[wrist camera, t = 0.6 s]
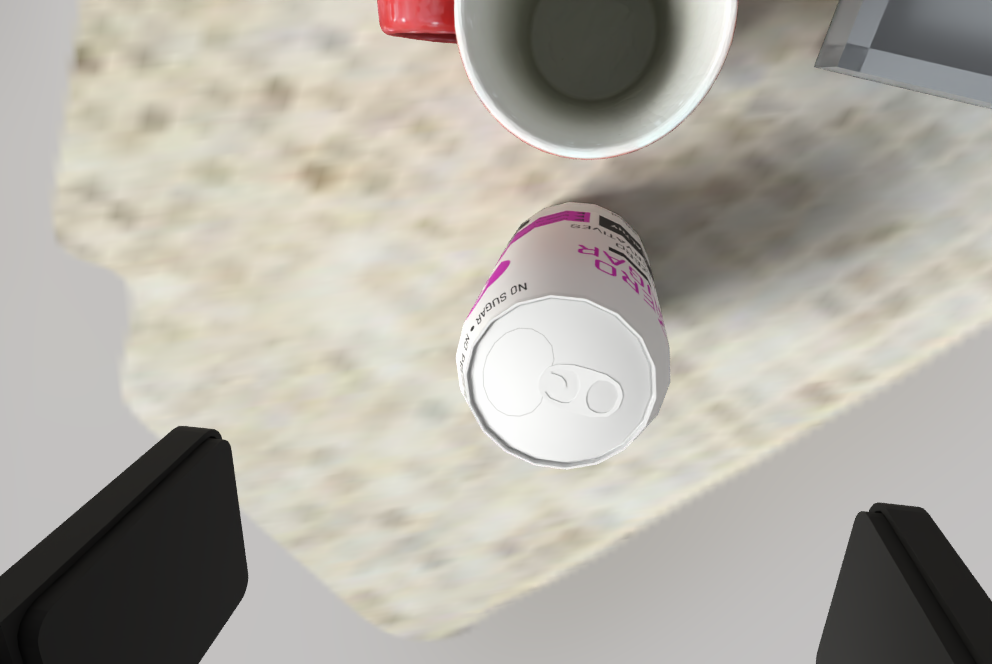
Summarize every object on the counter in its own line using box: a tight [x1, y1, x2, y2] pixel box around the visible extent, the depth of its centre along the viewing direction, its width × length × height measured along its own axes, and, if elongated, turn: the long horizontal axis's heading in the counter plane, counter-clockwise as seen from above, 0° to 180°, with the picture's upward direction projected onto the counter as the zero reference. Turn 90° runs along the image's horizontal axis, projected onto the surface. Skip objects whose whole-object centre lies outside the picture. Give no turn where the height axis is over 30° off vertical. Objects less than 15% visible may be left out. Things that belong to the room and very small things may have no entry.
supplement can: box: [456, 202, 670, 470], centre depth 31 cm, size 8×8×15 cm
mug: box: [377, 0, 739, 160], centre depth 28 cm, size 13×9×14 cm
